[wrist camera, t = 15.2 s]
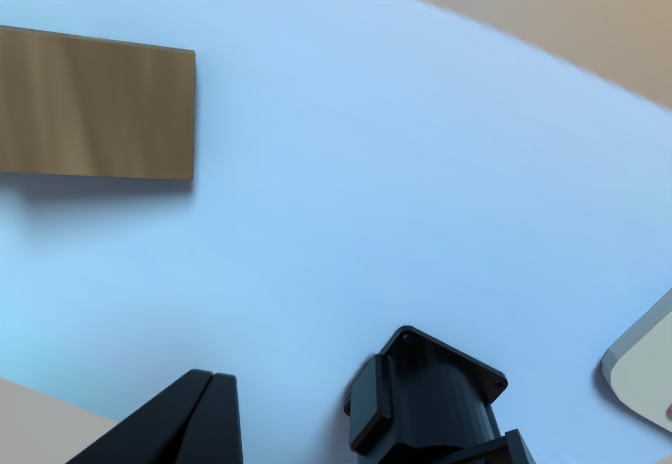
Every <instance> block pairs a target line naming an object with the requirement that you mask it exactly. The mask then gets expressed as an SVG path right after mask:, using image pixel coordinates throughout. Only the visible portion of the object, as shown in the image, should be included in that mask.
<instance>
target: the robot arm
mask: <svg viewBox="0 0 672 464" xmlns="http://www.w3.org/2000/svg"><path fill="white" fill-rule="evenodd" d="M406 334H409V335H411V337H409V338H405V337H403V336H404V335H406ZM498 380H499V382H498V383H494V382H495V381H498ZM507 386H508V381H507V379H506V377H505V375H504V374H503V373H502V372H500V371H498V370H496V369H494V368H492V367H490V366H488V365H486V364H484V363H482V362H480V361H478V360H477V359H475V358H473V357H471V356H469V355H467V354H465V353H463V352H461V351H459V350H457V349H455V348H453V347H451V346H449V345H447V344H445V343H443V342H441V341H439V340H438V339H436V338H434V337H432V336H430V335H428V334H426V333H424V332H422V331H420V330H418V329H416V328H414V327H412V326H403V327H401V328H400V329H399V330H398V331H397V332H396V334H395V335H394V336H393V338H392V339H391V340H390V342H389V343H388V344H387V346H386V347H385V348H384V350H383V351H382V352H381V353H378V354H376V355H374V356H373V358H372V359H371V360H370V362H369V363H368V364H367V366H366V367H365V368H364V370H363V371H362V372H361V374H360V375H359V376H358V378H357V379H356V381H355V382H354V383H353V385H352V387H351V394H350V395H349V396H348V398H347V399H346V400H345V402H344V412H345V414H347V415H348V416H350V438H349V445H350V448H351V451H353V452H355V453H357V454H358V464H536V463H535V461H534V459H533V457H532V455H531V454H530V452H529V450H528V448H527V446H526V444H525V442H524V440H523V438H522V436H521V434H520V432H519V430H518V429H514V430H511V431H508V432H505V436H502V437H501V434H500V431H499V428H498V425H497V422H496V419H495V416H494V414H493V411H492V408H491V404H492V403H493V402H494V401H495V400H496V399H497V397H498V396H499V395H500V394H501V393H502V392H503V391H504V390H505V389H506V388H507ZM65 464H243V454H242V441H241V429H240V416H239V404H238V391H237V380H236V377H235V376H234V375H229V374H223V373H215V374H213V373H212V372H211V371H205V370H199V369H192V370H190V371H188V372H187V373H186V374H184V375H183V376H182V377H180V378H179V379H178V380H176V381H175V382H174V383H172V384H171V385H169V386H168V387H167V388H165V389H164V390H163V391H161V392H160V393H159V394H157V395H156V396H155V397H153V398H152V399H151V400H149V401H148V402H147V403H145V404H144V405H143V406H141V407H140V408H139V409H137V410H136V411H135V412H133V413H132V414H131V415H129V416H128V417H127V418H125V419H124V420H123V421H121V422H120V423H119V424H117V425H116V426H115V427H113V428H112V429H111V430H109V431H108V432H107V433H106V434H104V435H103V436H101V437H100V438H99V439H98V440H96V441H95V442H93V443H92V444H91V445H89V446H88V447H87V448H85V449H84V450H83V451H81V452H80V453H79V454H77V455H76V456H75V457H73V458H72V459H71V460H69V461H68V462H67V463H65Z"/></svg>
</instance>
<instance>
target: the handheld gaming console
mask: <svg viewBox="0 0 672 464" xmlns="http://www.w3.org/2000/svg"><path fill="white" fill-rule="evenodd" d="M602 374H603V376H604V377H605V379H606V381H607V382H608V384H609V385H610V387H611V389H612V390H613V391H614V393H615V394H616V396H617V397H618V398H619V400H620V401H621V402H623V403H624V404H625V405H627V406H628V407H629V408H631V409H632V410H633V411H635V412H636V413H638V414H640V415H642V416H643V417H645V418H647V419H649V420H651V421H652V422H654V423H656V424H658V425H660V426H661V427H663V428H665V429H667V430H669V431H670V432H672V288H671V289H670V290H669V291H668V292H667V293H666V294H665V295H664V296H663V297H662V298H661V299H660V300H659V301H658V302H657V303H655V304H654V305H653V306H652V307H651V308H650V309H649V310H648V311H647V312H646V313H645V314H644V315H643V316H642V317H641V318H640V319H639V320H638V321H636V322H635V323H634V324H633V325H632V326H631V327H630V328H629V329H628V330H627V331H626V332H625V333H624V334H623V335H622V336H621V337H620V338H619V339H617V340H616V341H615V342H614V343H613V344H612V345H611V346H610V347H609V348H608V350H607V352H606V353H605V355H604V357H603V358H602Z"/></svg>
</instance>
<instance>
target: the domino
mask: <svg viewBox="0 0 672 464" xmlns="http://www.w3.org/2000/svg"><path fill="white" fill-rule="evenodd" d="M194 90H195V52H194V51H192V50H185V49H177V48H169V47H162V46H154V45H147V44H139V43H132V42H124V41H117V40H109V39H102V38H94V37H86V36H79V35H71V34H64V33H56V32H49V31H41V30H34V29H26V28H19V27H11V26H3V25H0V172H11V173H34V174H57V175H79V176H102V177H125V178H148V179H171V180H193V137H194Z"/></svg>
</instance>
